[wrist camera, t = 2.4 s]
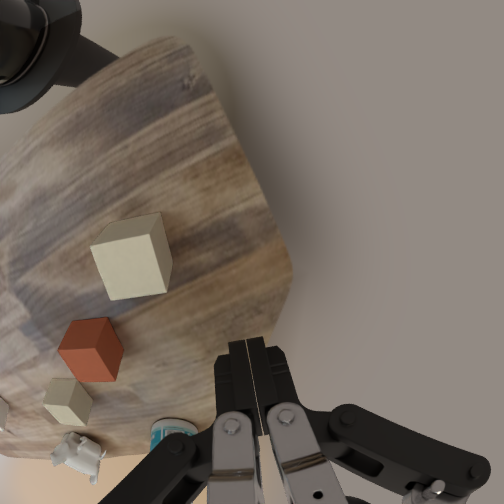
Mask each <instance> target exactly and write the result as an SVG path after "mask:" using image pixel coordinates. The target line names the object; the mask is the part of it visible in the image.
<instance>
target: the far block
mask: <svg viewBox="0 0 504 504" xmlns="http://www.w3.org/2000/svg"><path fill="white" fill-rule="evenodd" d="M92 402H93V399H92V398H91V397H90V396H89V394H88V393H87V392H86V390H85V389H84V388H83V386H82V385H81V384H80V382H79V381H78V380H77V379H52V380H51V382H50V385H49V387H48V390H47V392H46V395H45V398H44V400H43V403H42V404H43V406H44V407H45V408H46V409H47V410H48V411H49V412H50V413H51V414H52V415H53V416H54V417H55V418H56V420H57V421H58V422H59V423H60V424H66V425H76V426H87V422H88V418H89V414H90V410H91V406H92Z"/></svg>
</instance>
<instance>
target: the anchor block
mask: <svg viewBox="0 0 504 504" xmlns="http://www.w3.org/2000/svg"><path fill="white" fill-rule="evenodd" d="M57 351H58V352H59V354H60V355H61V357H62V358H63V360H64V361H65V363H66V364H67V366H68V367H69V369H70V370H71V372H72V373H73V374H74V376H75V377H76V379H77V380H78V381H79V382H115V381H116V378H117V374H118V370H119V366H120V362H121V359H122V355H123V351H124V349H123V347H122V345H121V343H120V341H119V340H118V338H117V336H116V334H115V332H114V330H113V328H112V326H111V324H110V321H109V319H108V317H104V318H96V319H87V320H77V321H72V322H71V324H70V326H69V328H68V330H67V332H66V334H65V336H64V338H63V340H62V342H61V344H60V346H59V348H58V350H57Z"/></svg>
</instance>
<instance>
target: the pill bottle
mask: <svg viewBox="0 0 504 504" xmlns="http://www.w3.org/2000/svg"><path fill="white" fill-rule="evenodd" d="M175 432H181V433H185V434H187V435H189V436H192V435H195V434H197V433H198V430H197V428H196V427H195V426H194V425H193V424H191V423H189V422H187V421H184V420H179V419H163V420H159V421H157V422H156V423H154V424H153V426H152V431H151V446H150V452H151V451H152V450H153V448H154V447H155V446H156V445H157V444H158V443H159V442H160V441H161V440H162V439H163V438H164V437H165V436H167V435H169V434H171V433H175ZM191 504H193V502H192V503H191Z"/></svg>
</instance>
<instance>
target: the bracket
mask: <svg viewBox="0 0 504 504" xmlns="http://www.w3.org/2000/svg"><path fill="white" fill-rule="evenodd" d="M8 410H9V405H8V404H7V403H6V402H5V401H4V400H3V399H2V398H1V397H0V430H1V431H4V429H5V424H6V419H7V415H8Z"/></svg>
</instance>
